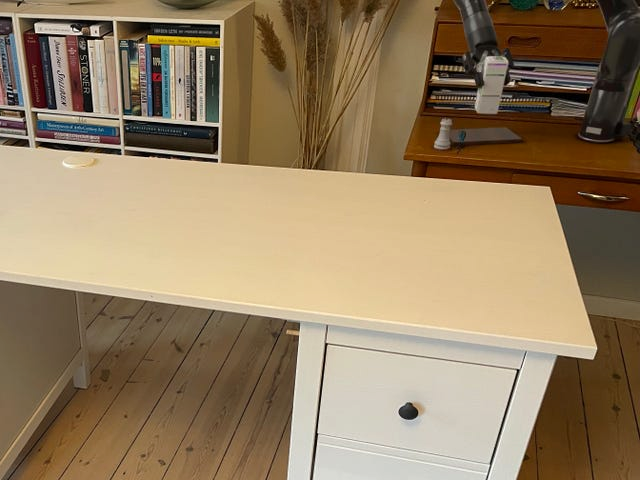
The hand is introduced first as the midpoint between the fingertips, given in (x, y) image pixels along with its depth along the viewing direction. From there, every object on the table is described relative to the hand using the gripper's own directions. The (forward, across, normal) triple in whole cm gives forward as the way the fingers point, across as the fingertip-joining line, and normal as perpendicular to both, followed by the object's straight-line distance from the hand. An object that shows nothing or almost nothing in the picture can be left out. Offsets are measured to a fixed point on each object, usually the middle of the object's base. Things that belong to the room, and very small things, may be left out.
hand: (494, 85), depth 207 cm
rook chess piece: (+13, -15, +9) cm, 22 cm away
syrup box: (+4, 0, +6) cm, 8 cm away
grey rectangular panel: (+10, 0, +12) cm, 15 cm away
